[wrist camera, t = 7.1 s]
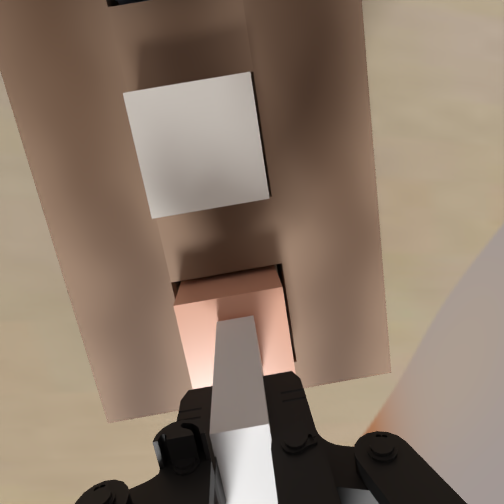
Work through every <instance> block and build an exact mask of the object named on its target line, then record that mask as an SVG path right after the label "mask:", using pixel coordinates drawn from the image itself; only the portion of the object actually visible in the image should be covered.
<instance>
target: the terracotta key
mask: <svg viewBox="0 0 504 504" xmlns="http://www.w3.org/2000/svg"><path fill="white" fill-rule="evenodd" d="M173 307H174V311H175V315H176V319H177V324H178V328H179V332H180V337H181V341H182V345H183V350H184V354H185V358H186V363H187V367H188V371H189V375H190V380H191V384H192V388H193V389H197V388H203V387H209V386H213V371H214V355H215V340H216V324H217V322H218V321H224V320H229V319H235V318H241V317H247V316H252V315H253V316H254V321H255V327H256V333H257V338H258V344H259V350H260V355H261V361H262V367H263V372H264V376H265V375H271V374H277V373H282V372H288V371H293V372H294V373H295V374H296V372H295V366H294V359H293V352H292V346H291V339H290V333H289V326H288V320H287V313H286V306H285V300H284V293H283V287H282V284H281V282H280V279H279V276H278V274H277V271H276V268H275V266H274V265H270V266H264V267H258V268H252V269H247V270H241V271H235V272H229V273H224V274H218V275H212V276H206V277H201V278H195V279H189V280H183V281H181V283H180V287H179V290H178V293H177V296H176V299H175V302H174V306H173Z"/></svg>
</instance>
